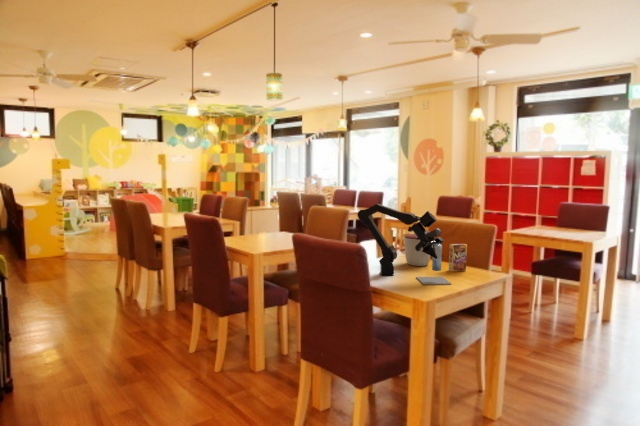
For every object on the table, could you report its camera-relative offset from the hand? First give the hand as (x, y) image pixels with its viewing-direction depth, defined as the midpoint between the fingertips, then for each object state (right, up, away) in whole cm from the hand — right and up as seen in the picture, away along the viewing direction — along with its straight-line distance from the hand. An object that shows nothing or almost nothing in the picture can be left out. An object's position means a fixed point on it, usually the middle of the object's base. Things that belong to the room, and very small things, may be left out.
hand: (439, 257), depth 223 cm
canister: (-1, -9, +44) cm, 45 cm away
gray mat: (-2, -13, +4) cm, 13 cm away
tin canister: (-1, -6, +2) cm, 7 cm away
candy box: (+18, -10, +28) cm, 35 cm away
